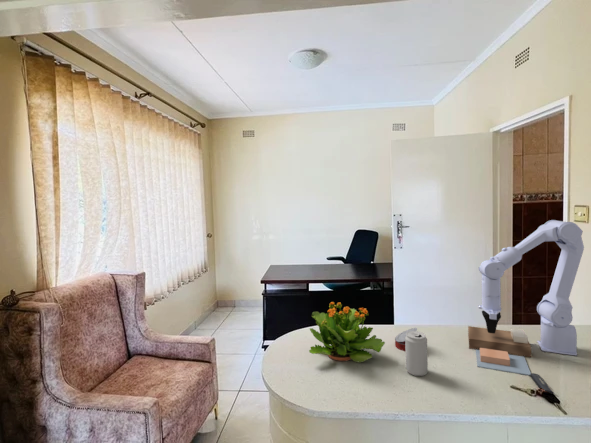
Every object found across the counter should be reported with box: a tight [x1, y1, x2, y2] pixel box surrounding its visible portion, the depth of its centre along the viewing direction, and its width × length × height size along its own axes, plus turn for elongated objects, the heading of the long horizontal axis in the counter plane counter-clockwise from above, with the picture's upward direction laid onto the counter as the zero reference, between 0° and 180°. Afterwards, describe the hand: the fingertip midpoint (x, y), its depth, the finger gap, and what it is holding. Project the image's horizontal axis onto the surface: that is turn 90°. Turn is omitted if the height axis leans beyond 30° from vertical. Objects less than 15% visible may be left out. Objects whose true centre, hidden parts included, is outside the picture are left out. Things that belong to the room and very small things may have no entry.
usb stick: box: [530, 372, 554, 395], centre depth 93 cm, size 10×3×2 cm, turn 164°
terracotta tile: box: [480, 348, 510, 366], centre depth 107 cm, size 8×6×2 cm
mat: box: [475, 349, 532, 376], centre depth 106 cm, size 14×12×1 cm
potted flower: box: [308, 301, 386, 363], centre depth 115 cm, size 25×24×18 cm
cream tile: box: [510, 328, 529, 344], centre depth 114 cm, size 4×7×2 cm, turn 154°
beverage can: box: [404, 330, 429, 377], centre depth 102 cm, size 6×6×12 cm
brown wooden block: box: [467, 325, 532, 358], centre depth 117 cm, size 18×12×4 cm, turn 64°
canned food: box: [394, 327, 418, 352], centre depth 119 cm, size 10×9×9 cm
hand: (491, 332), depth 117 cm, fingers closed
